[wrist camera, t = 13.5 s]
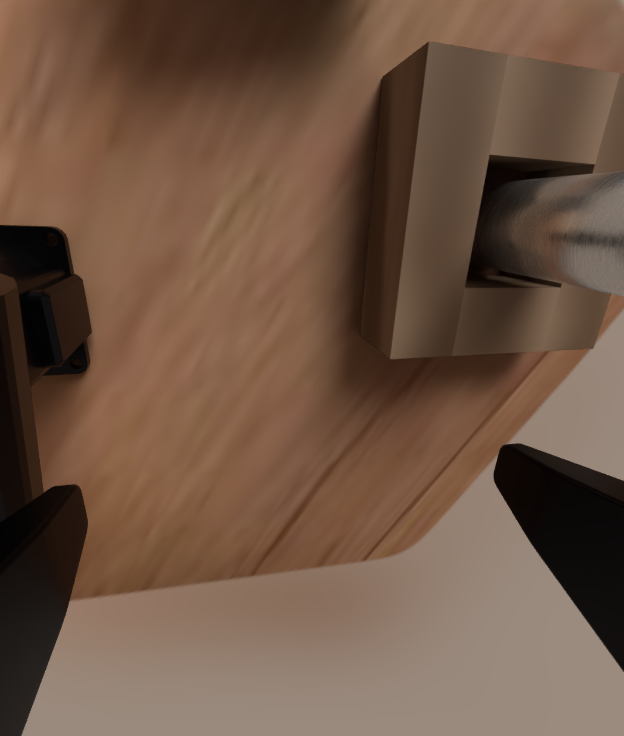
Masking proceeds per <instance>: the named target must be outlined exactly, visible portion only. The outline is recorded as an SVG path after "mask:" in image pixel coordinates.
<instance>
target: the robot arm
mask: <svg viewBox="0 0 624 736" xmlns="http://www.w3.org/2000/svg"><path fill="white" fill-rule="evenodd" d="M50 233H51V234H54V235H55V236H56V237H57V239H58V243H57V245H52V244H51V243H49V241H48V239H47V238H48V235H49V234H50ZM91 333H92V330H91V324H90V319H89V313H88V307H87V302H86V296H85V290H84V285H83V280H82V279H81V278H80V277H79V276H78V275H77V274H74V271H73V266H72V260H71V255H70V249H69V244H68V239H67V237H66V234H65V233H64V232H63V231H62V230H60V229H59V228H57V227H52V226H19V225H0V736H21V735H22V732H23V729H24V727H25V724H26V722H27V719H28V716H29V713H30V711H31V708H32V705H33V703H34V700H35V697H36V694H37V692H38V689H39V686H40V683H41V681H42V678H43V676H44V673H45V670H46V668H47V665H48V662H49V659H50V656H51V654H52V651H53V649H54V646H55V643H56V640H57V638H58V635H59V632H60V630H61V627H62V624H63V621H64V618H65V615H66V612H67V608H68V604H69V601H70V597H71V593H72V589H73V585H74V581H75V577H76V573H77V569H78V565H79V561H80V557H81V553H82V549H83V546H84V542H85V538H86V534H87V528H88V519H87V514H86V509H85V505H84V500H83V496H82V492H81V489H80V487H79V486H78V485H76V484H73V485H62V486H54V487H52V488H50V489H49V490H47V491H46V492H43V484H42V476H41V468H40V460H39V452H38V444H37V436H36V428H35V420H34V412H33V404H32V396H31V389H30V388H31V387H32V386H33V385H34V384H35V383H36V382H37V381H38V380H39V379H40V378H41V377H42V376H44V375H63V374H79V373H82V372H84V371H85V370H86V369H87V368H88V366H89V365H90V358H89V352H88V347H87V342H86V338H87V337H88V336H89V335H90V334H91ZM72 359H78V360H80V361H81V363H82V365H81V366H77V365H75V364H73V362H72ZM494 482H495V484H496V486H497V488H498V489H499V491H500V493H501V495H502V496H503V498H504V500H505V501H506V503H507V505H508V506H509V508H510V509H511V511H512V513H513V515H514V516H515V518H516V520H517V521H518V523H519V525H520V526H521V528H522V530H523V531H524V533H525V535H526V536H527V538H528V539H529V541H530V542H531V544H532V545H533V547H534V548H535V550H536V551H537V552H538V554H539V555H540V557H541V558H542V560H543V561H544V562H545V564H546V565H547V566H548V568H549V569H550V571H551V572H552V573H553V575H554V576H555V578H556V579H557V580H558V581H559V583H560V584H561V586H562V587H563V589H564V590H565V591H566V593H567V594H568V595H569V597H570V598H571V600H572V601H573V602H574V604H575V605H576V607H577V608H578V609H579V611H580V612H581V614H582V615H583V616H584V618H585V619H586V620H587V622H588V623H589V625H590V626H591V627H592V629H593V630H594V631H595V633H596V634H597V636H598V637H599V638H600V640H601V641H602V643H603V644H604V645H605V647H606V648H607V649H608V651H609V652H610V654H611V655H612V656H613V658H614V659H615V660H616V662H617V663H618V665H619V666H620V668H621V669H622V670H623V672H624V481H622V480H620V479H617V478H614V477H611V476H609V475H606V474H603V473H601V472H598V471H595V470H592V469H590V468H587V467H584V466H581V465H579V464H575V463H573V462H570V461H567V460H565V459H562V458H559V457H556V456H554V455H551V454H548V453H545V452H543V451H540V450H537V449H534V448H532V447H529V446H526V445H523V444H518V443H517V444H506V445H503V446H502V447H501V448H500V451H499V454H498V458H497V462H496V466H495V470H494Z"/></svg>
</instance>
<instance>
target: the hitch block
mask: <svg viewBox="0 0 624 736" xmlns="http://www.w3.org/2000/svg"><path fill="white" fill-rule="evenodd" d="M487 169H493V170H505V171H517V172H527V176H526V180H528V179H539V178H550V177H561V176H572V175H583V174H594V173H605V172H616V171H624V74H621V73H615V72H609V71H603V70H597V69H591V68H585V67H579V66H573V65H567V64H561V63H555V62H549V61H543V60H537V59H531V58H526V57H520V56H514V55H508V54H502V53H496V52H490V51H484V50H478V49H472V48H466V47H460V46H454V45H448V44H442V43H436V42H430V41H429V42H428V43H426V44H425V45H424V46H422V47H421V48H420V49H418V50H417V51H416V52H414V53H413V54H412V55H411V56H409V57H408V58H407V59H405V60H404V61H403V62H401V63H400V64H399V65H397V66H396V67H395V68H393V69H392V70H391V71H390V72H388V73H387V74H386V75H384V76H383V81H382V92H381V103H380V114H379V125H378V137H377V148H376V159H375V170H374V181H373V193H372V204H371V215H370V226H369V237H368V248H367V260H366V271H365V282H364V293H363V304H362V316H361V327H360V335H361V336H362V337H363V338H365V339H366V340H367V341H368V342H370V343H371V344H372V345H373V346H374V347H376V348H377V349H378V350H379V351H381V352H382V353H383V354H384V355H385V356H387V357H388V358H389V359H405V358H424V357H443V356H462V355H481V354H500V353H519V352H538V351H557V350H576V349H593V348H594V345H595V342H596V339H597V336H598V333H599V330H600V327H601V324H602V320H603V317H604V314H605V311H606V308H607V305H608V302H609V299H610V296H611V293H606V292H601V291H596V290H591V289H586V288H582V287H577V286H572V285H567V284H562V283H557V282H553V281H548V280H543V279H538V278H533V277H529V276H524V275H519V274H514V273H509V272H505V275H467V273H468V268H469V263H470V257H471V252H472V246H473V241H474V236H475V230H476V225H477V220H478V214H479V209H480V203H481V198H482V193H483V187H484V182H485V176H486V171H487Z"/></svg>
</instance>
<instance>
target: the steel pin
mask: <svg viewBox="0 0 624 736" xmlns="http://www.w3.org/2000/svg"><path fill="white" fill-rule="evenodd" d="M469 264H471V265H475V266H480V267H485V268H490V269H495V270H500V271H504V272H509V273H514V274H519V275H524V276H529V277H533V278H538V279H543V280H548V281H553V282H557V283H562V284H567V285H572V286H577V287H582V288H586V289H591V290H596V291H601V292H606V293H611V294H615V295H620V296H624V171H616V172H605V173H594V174H583V175H572V176H561V177H550V178H539V179H528V180H517V181H506V182H495V183H484V187H483V193H482V198H481V203H480V209H479V214H478V220H477V225H476V230H475V236H474V241H473V246H472V252H471V257H470V263H469Z"/></svg>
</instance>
